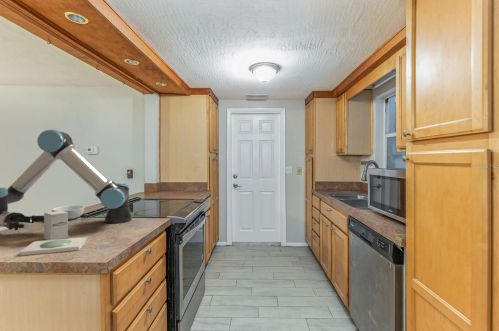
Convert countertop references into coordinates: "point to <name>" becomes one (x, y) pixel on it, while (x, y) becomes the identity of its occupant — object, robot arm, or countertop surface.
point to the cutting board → (53, 246)
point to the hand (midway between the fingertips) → (45, 222)
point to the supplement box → (55, 225)
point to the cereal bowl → (71, 211)
